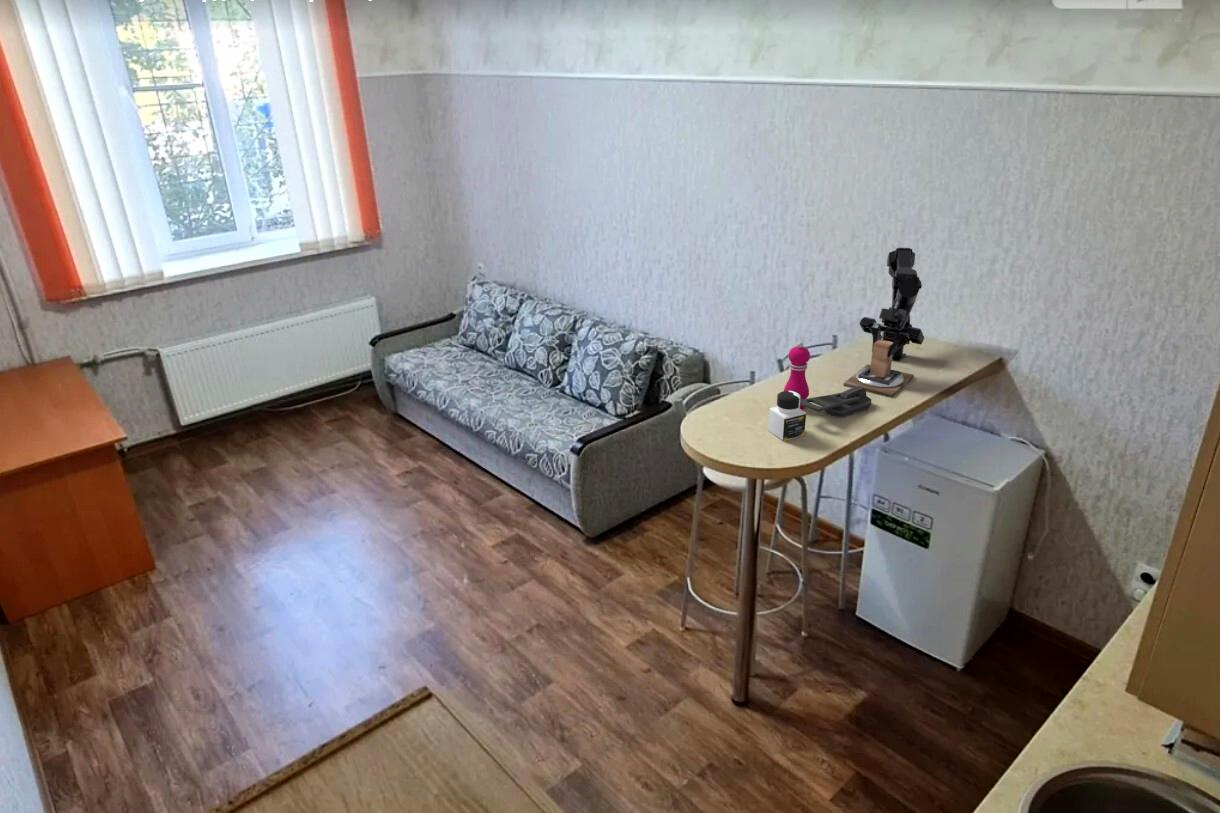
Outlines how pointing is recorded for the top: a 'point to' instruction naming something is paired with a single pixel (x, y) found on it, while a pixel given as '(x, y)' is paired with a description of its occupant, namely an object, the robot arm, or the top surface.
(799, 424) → the medicine bottle
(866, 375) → the rosette plate
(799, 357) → the pepper mill
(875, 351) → the tan wooden block
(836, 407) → the zipper pull
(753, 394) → the top surface
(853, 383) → the walnut board
